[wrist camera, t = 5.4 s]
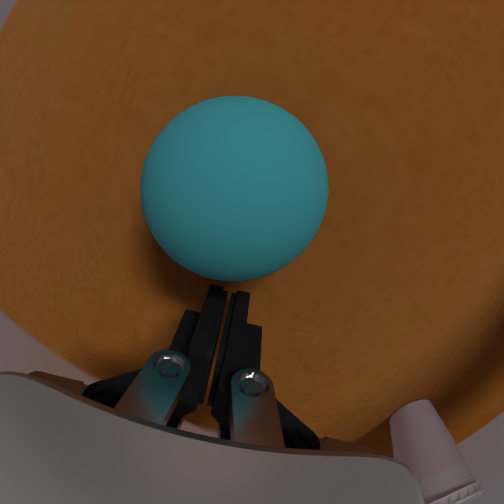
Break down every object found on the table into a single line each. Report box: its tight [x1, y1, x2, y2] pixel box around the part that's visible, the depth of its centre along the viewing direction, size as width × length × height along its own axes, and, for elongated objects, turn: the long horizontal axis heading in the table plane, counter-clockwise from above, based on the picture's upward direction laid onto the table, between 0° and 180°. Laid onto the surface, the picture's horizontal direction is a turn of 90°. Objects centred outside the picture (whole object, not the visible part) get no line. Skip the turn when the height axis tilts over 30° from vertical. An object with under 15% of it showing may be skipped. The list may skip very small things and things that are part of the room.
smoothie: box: [389, 399, 484, 504], centre depth 11 cm, size 6×6×14 cm
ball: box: [140, 96, 328, 281], centre depth 8 cm, size 6×6×6 cm
